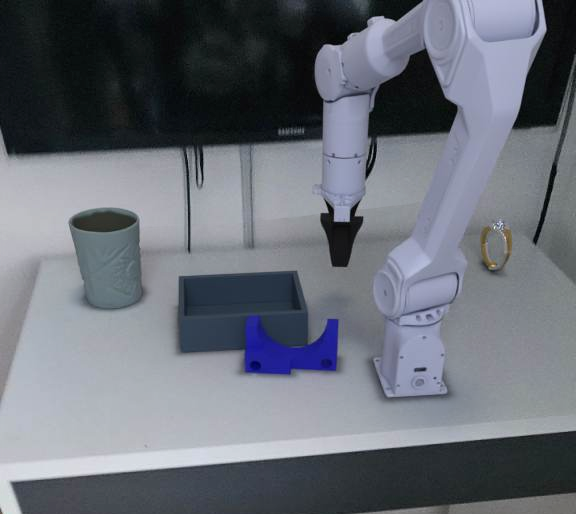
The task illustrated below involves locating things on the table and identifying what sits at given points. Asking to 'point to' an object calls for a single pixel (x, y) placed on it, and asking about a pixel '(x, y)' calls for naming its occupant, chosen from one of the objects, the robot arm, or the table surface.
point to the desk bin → (240, 309)
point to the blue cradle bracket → (288, 350)
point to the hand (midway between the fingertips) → (340, 254)
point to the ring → (506, 243)
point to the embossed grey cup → (108, 255)
